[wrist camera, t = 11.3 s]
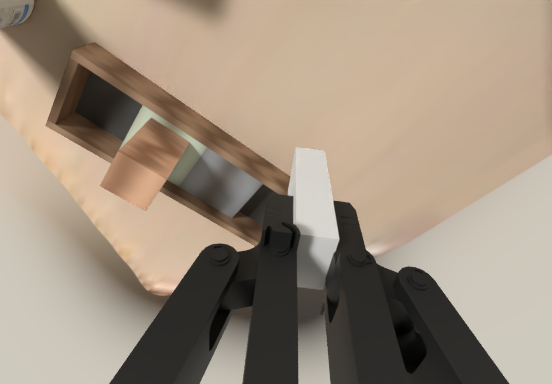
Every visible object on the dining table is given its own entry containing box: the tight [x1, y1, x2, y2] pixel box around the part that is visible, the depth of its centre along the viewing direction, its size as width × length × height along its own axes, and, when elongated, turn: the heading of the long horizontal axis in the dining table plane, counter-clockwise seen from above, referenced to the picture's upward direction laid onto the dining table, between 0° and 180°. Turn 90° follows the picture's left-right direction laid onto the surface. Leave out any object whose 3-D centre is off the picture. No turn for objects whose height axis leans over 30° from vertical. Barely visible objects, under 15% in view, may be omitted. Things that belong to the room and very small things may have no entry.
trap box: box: [46, 42, 290, 246], centre depth 48 cm, size 38×12×5 cm, turn 53°
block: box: [100, 117, 190, 211], centre depth 42 cm, size 6×6×10 cm
